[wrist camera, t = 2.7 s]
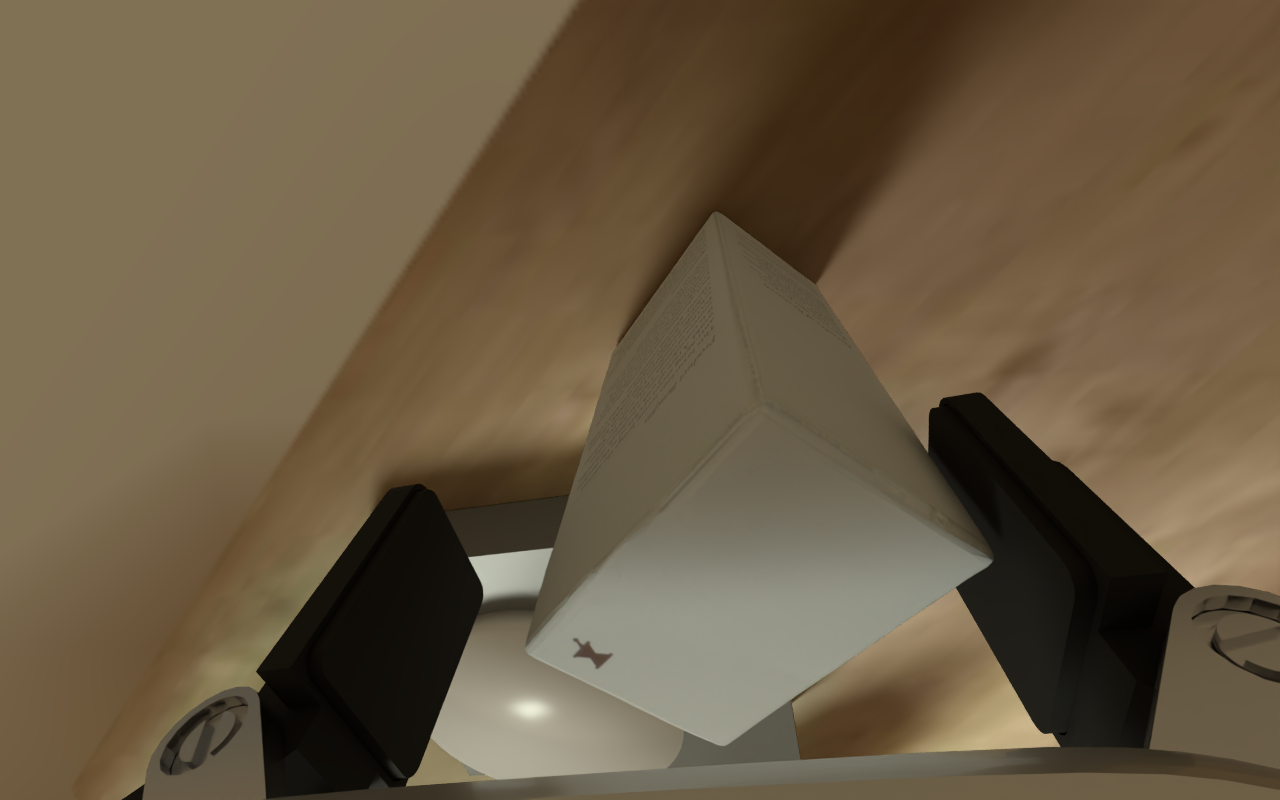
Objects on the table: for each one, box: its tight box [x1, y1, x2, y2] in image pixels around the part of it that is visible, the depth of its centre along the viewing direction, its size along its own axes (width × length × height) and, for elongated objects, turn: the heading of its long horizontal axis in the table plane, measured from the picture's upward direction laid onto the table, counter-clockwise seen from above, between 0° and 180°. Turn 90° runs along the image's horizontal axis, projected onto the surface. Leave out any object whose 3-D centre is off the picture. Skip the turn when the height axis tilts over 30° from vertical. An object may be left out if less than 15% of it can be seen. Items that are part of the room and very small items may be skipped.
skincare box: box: [525, 212, 994, 746], centre depth 13 cm, size 6×4×12 cm
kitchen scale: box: [431, 495, 800, 780], centre depth 24 cm, size 17×15×4 cm
